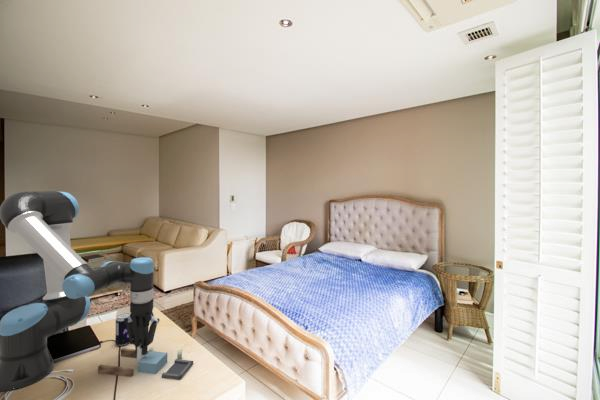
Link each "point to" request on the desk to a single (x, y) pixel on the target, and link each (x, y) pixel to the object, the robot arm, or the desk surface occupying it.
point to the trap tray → (178, 369)
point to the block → (152, 362)
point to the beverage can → (121, 330)
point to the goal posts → (179, 352)
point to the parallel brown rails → (119, 370)
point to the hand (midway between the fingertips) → (141, 362)
